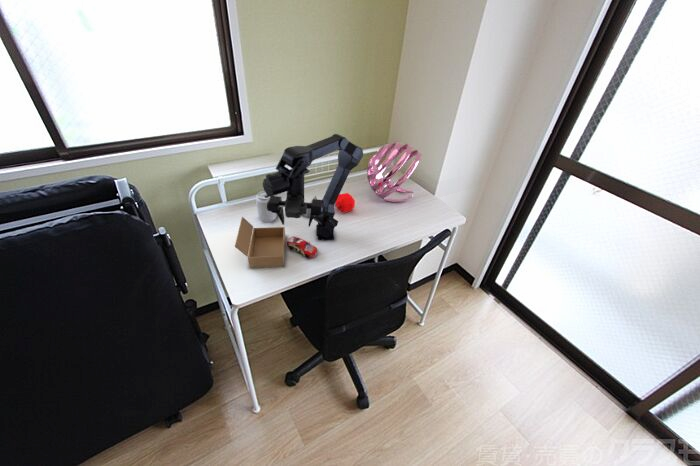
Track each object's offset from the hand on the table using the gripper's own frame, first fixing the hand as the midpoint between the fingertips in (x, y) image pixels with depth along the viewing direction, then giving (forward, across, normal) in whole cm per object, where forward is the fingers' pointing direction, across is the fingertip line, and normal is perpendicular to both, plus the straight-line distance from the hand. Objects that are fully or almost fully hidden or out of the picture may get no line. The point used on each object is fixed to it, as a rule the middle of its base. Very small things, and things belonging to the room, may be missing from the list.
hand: (296, 225), depth 109 cm
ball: (+11, +18, +29) cm, 36 cm away
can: (+12, -15, +20) cm, 28 cm away
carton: (+12, -10, -2) cm, 16 cm away
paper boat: (+12, +2, +26) cm, 29 cm away
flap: (+4, -18, -3) cm, 19 cm away
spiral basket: (+10, +40, +45) cm, 61 cm away
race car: (+12, +2, 0) cm, 12 cm away
